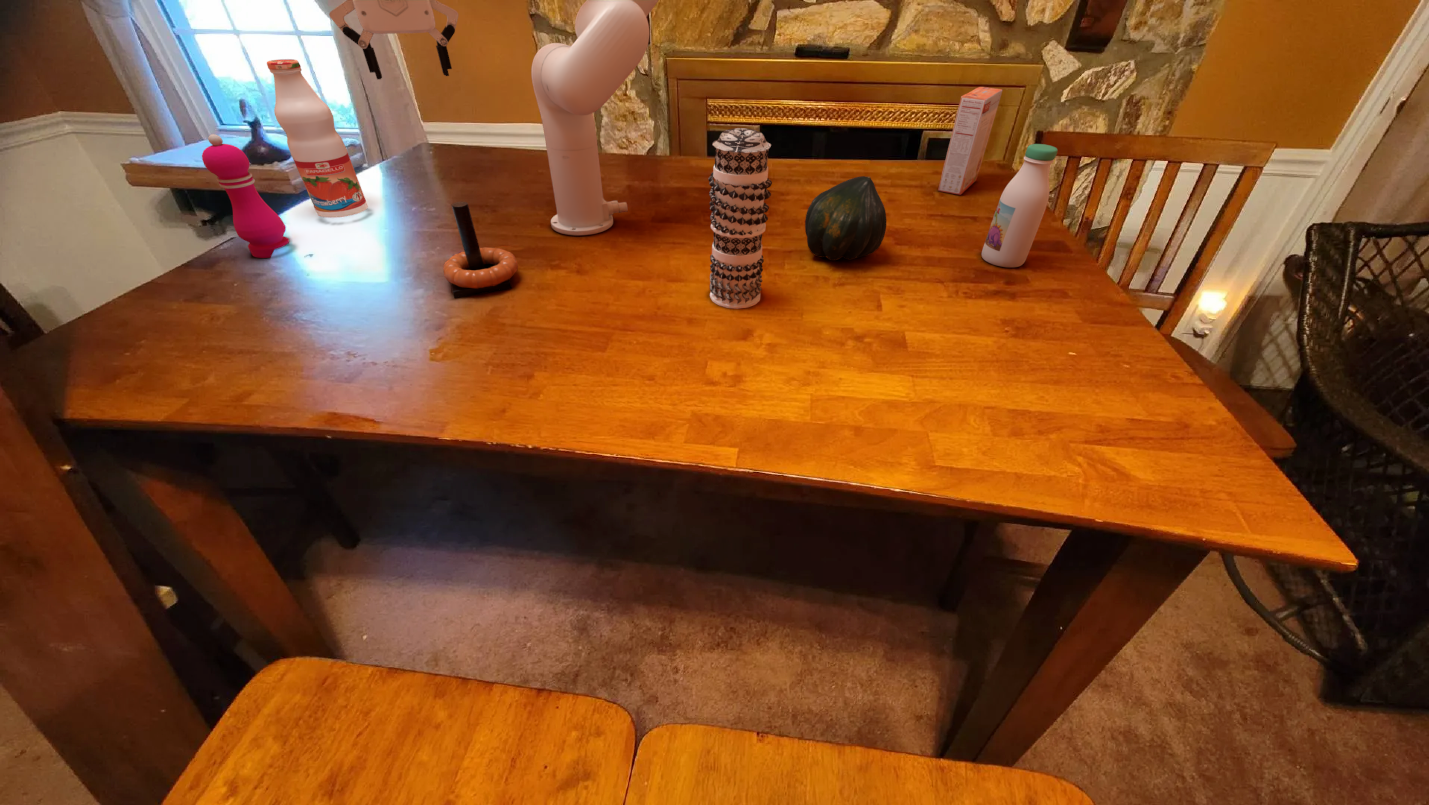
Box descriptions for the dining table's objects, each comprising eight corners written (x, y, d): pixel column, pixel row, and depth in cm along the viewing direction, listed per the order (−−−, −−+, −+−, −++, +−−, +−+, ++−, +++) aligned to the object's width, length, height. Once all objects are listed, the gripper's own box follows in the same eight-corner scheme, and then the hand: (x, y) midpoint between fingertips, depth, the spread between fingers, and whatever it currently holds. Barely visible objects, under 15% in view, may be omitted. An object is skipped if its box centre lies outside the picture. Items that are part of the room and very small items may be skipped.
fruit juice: (371, 205, 121) (315, 56, 104) (369, 220, 114) (308, 63, 97) (322, 210, 118) (256, 58, 101) (317, 226, 112) (245, 65, 94)
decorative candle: (723, 315, 87) (729, 144, 71) (697, 289, 93) (697, 128, 77) (773, 302, 90) (789, 137, 74) (745, 279, 96) (753, 122, 81)
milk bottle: (1024, 255, 106) (1068, 144, 93) (1023, 272, 100) (1069, 155, 88) (981, 248, 108) (1018, 138, 96) (978, 263, 103) (1017, 149, 90)
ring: (513, 256, 99) (510, 241, 98) (523, 283, 91) (520, 267, 89) (444, 266, 96) (439, 251, 94) (448, 296, 88) (443, 280, 86)
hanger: (504, 266, 99) (486, 191, 90) (511, 288, 92) (493, 209, 84) (450, 275, 96) (427, 198, 88) (454, 298, 89) (429, 217, 81)
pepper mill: (273, 261, 99) (211, 141, 86) (239, 257, 100) (172, 138, 87) (304, 245, 104) (250, 130, 92) (271, 241, 106) (213, 127, 93)
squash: (777, 221, 103) (832, 169, 91) (822, 205, 112) (878, 156, 100) (816, 286, 103) (877, 243, 91) (858, 265, 112) (918, 223, 100)
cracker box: (953, 177, 144) (978, 85, 131) (976, 181, 141) (1005, 88, 128) (935, 191, 135) (960, 94, 122) (960, 196, 132) (988, 97, 119)
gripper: (298, -69, 71) (350, 83, 82) (442, -64, 77) (474, 77, 88) (303, -68, 76) (352, 75, 87) (438, -64, 82) (468, 70, 93)
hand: (413, 76), depth 87 cm, fingers open, 9 cm apart
